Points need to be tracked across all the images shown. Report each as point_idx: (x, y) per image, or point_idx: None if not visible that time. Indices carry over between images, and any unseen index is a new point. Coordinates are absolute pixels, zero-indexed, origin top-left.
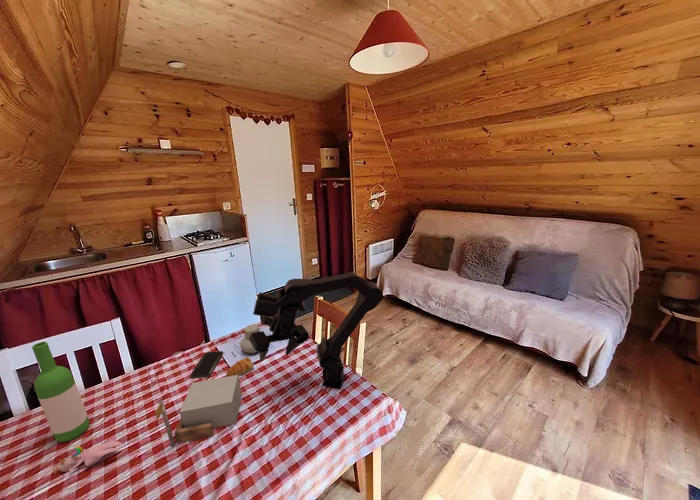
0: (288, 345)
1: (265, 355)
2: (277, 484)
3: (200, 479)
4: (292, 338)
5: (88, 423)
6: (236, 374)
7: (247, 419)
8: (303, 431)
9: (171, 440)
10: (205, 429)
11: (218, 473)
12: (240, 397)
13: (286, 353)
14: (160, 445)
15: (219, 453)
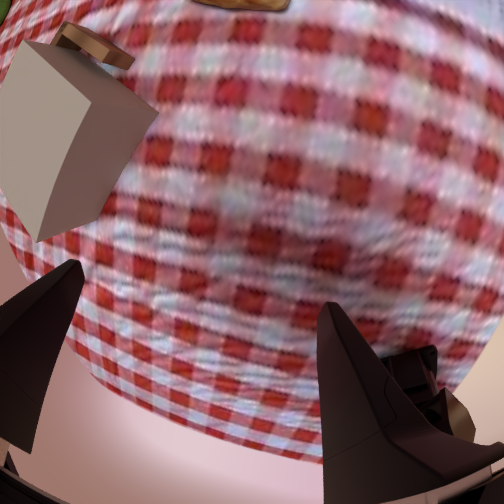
0: (348, 388)
1: (47, 374)
2: (115, 392)
3: (36, 275)
4: (366, 492)
5: (2, 13)
6: (201, 1)
7: (119, 237)
8: (199, 393)
9: None
10: None
11: None
12: (139, 134)
13: (322, 323)
14: None
15: (58, 261)
